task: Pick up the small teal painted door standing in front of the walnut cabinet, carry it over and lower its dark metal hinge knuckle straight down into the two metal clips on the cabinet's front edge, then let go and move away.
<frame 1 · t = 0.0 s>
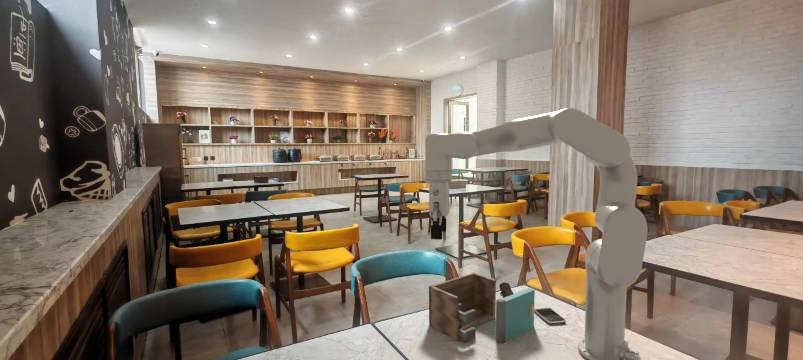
hand: (438, 235, 112), 31 cm above the table, tool pointing down, fingers open, 9 cm apart
hand tool: (511, 302, 142), on the table
cabinet: (465, 323, 124), on the table
door: (500, 340, 113), on the table
cell phone: (549, 318, 128), on the table
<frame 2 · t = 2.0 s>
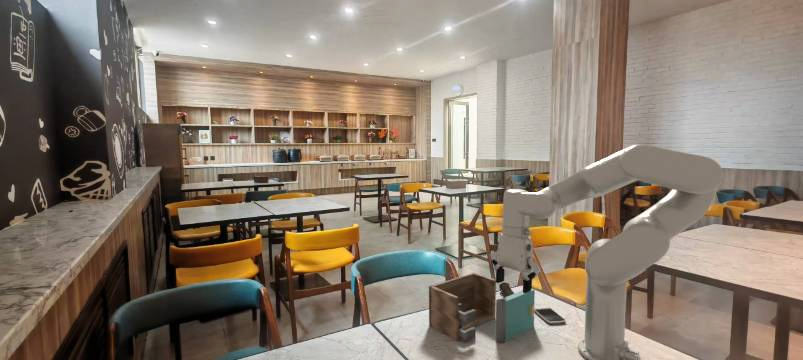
hand: (513, 286, 116), 15 cm above the table, tool pointing down, fingers open, 9 cm apart
nothing on the table moved.
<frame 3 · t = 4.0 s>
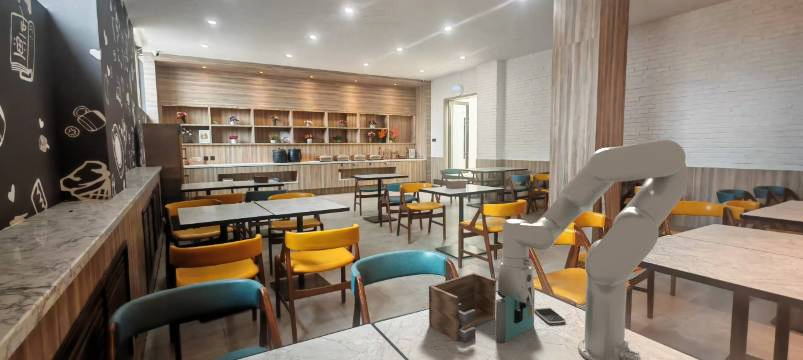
hand: (514, 320, 117), 4 cm above the table, tool pointing down, fingers closed on door, 2 cm apart
door: (500, 340, 113), on the table, touching gripper
everything else where it was.
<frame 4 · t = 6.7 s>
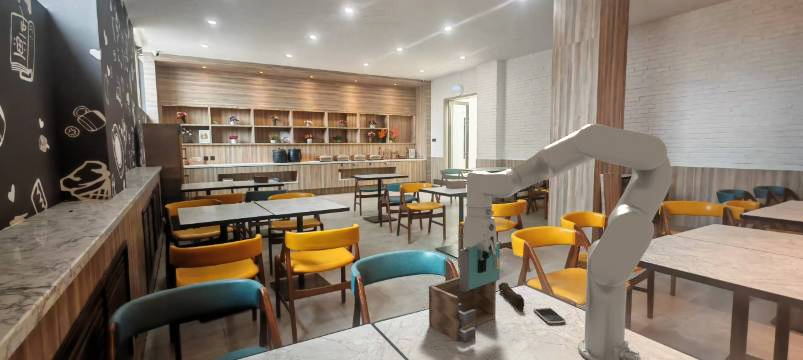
hand: (478, 270, 119), 19 cm above the table, tool pointing down, fingers closed on door
door: (464, 289, 116), point 14 cm above the table, touching gripper
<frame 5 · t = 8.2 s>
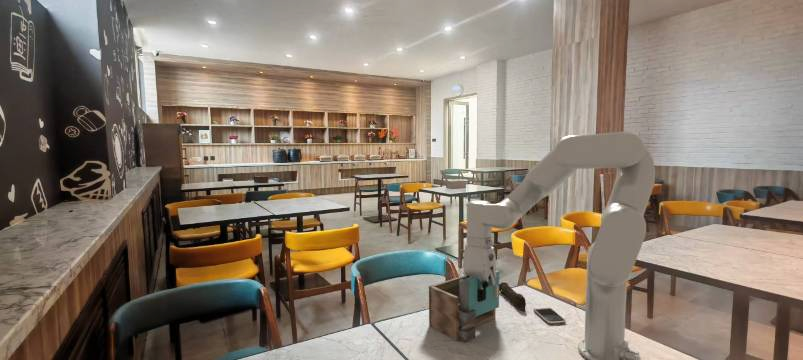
hand: (478, 298, 120), 10 cm above the table, tool pointing down, fingers closed on door
door: (464, 319, 116), point 5 cm above the table, touching gripper
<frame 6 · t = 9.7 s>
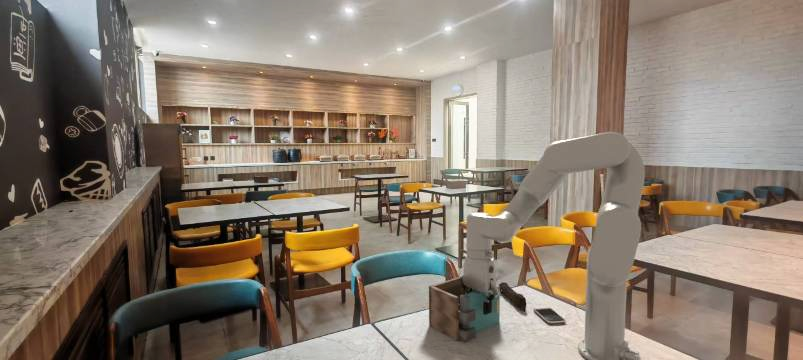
hand: (478, 309, 120), 6 cm above the table, tool pointing down, fingers open, 6 cm apart
door: (464, 334, 117), on the table
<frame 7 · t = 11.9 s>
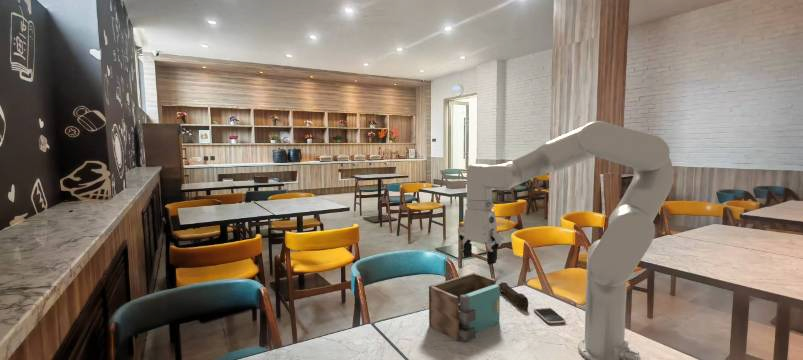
hand: (479, 260, 119), 22 cm above the table, tool pointing down, fingers open, 9 cm apart
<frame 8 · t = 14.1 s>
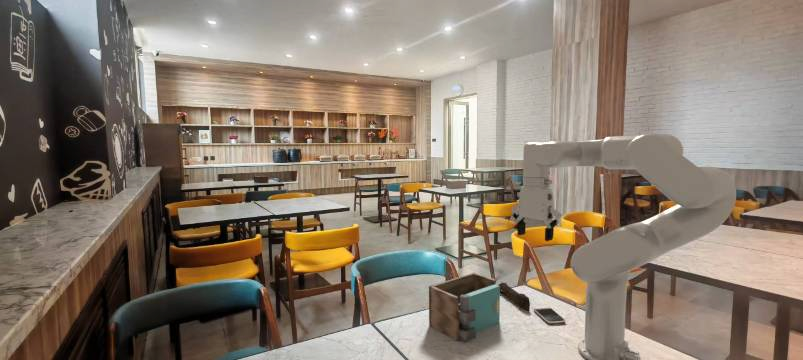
hand: (534, 237, 120), 28 cm above the table, tool pointing down, fingers open, 9 cm apart
at the end: door 0.3 cm from the target spot on the cabinet, point 0.0 cm above the cabinet's base; door tilted 0°; the gripper is holding nothing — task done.
